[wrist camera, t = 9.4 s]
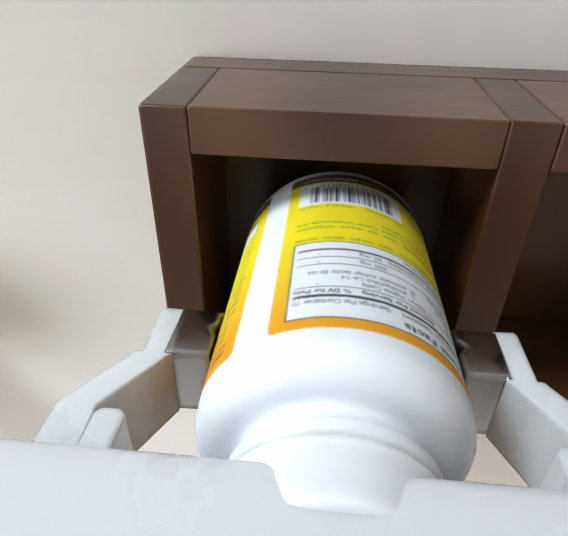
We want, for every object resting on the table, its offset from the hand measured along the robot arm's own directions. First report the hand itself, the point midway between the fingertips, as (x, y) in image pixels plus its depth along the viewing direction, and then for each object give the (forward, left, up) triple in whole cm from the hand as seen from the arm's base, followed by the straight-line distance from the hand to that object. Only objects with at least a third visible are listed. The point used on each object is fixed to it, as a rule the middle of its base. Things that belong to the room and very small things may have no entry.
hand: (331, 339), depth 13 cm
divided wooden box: (-4, 0, -8) cm, 9 cm away
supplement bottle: (0, 0, -5) cm, 5 cm away
